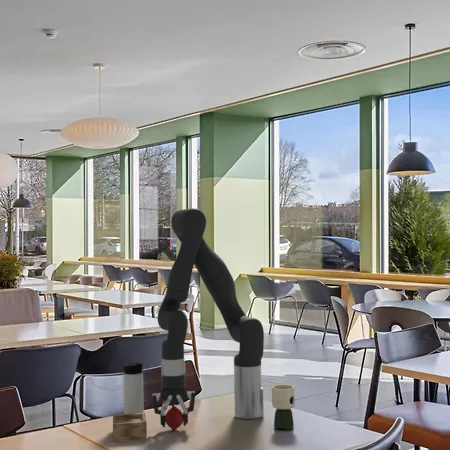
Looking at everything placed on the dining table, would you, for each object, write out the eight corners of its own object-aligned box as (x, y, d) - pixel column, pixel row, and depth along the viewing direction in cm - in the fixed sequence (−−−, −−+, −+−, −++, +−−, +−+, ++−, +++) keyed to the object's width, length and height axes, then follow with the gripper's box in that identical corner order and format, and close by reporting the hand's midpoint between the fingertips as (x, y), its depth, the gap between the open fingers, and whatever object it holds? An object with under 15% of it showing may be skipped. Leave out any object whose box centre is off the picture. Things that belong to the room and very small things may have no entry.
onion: (184, 427, 206) (184, 402, 206) (181, 433, 200) (181, 407, 201) (166, 427, 207) (166, 402, 207) (163, 432, 201) (163, 407, 201)
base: (145, 429, 205) (144, 412, 205) (146, 439, 195) (146, 421, 195) (113, 431, 203) (112, 415, 203) (113, 441, 193) (112, 424, 194)
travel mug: (134, 427, 207) (133, 365, 207) (120, 424, 211) (119, 363, 211) (148, 423, 212) (147, 361, 212) (134, 419, 216) (133, 359, 216)
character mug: (293, 434, 198) (292, 391, 198) (270, 433, 199) (269, 390, 199) (296, 423, 208) (295, 383, 208) (274, 422, 210) (273, 382, 210)
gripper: (194, 368, 209) (195, 420, 209) (149, 371, 206) (150, 424, 206) (197, 373, 201) (198, 427, 201) (151, 376, 199) (152, 431, 199)
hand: (174, 425), depth 204 cm, fingers closed on onion, 6 cm apart
